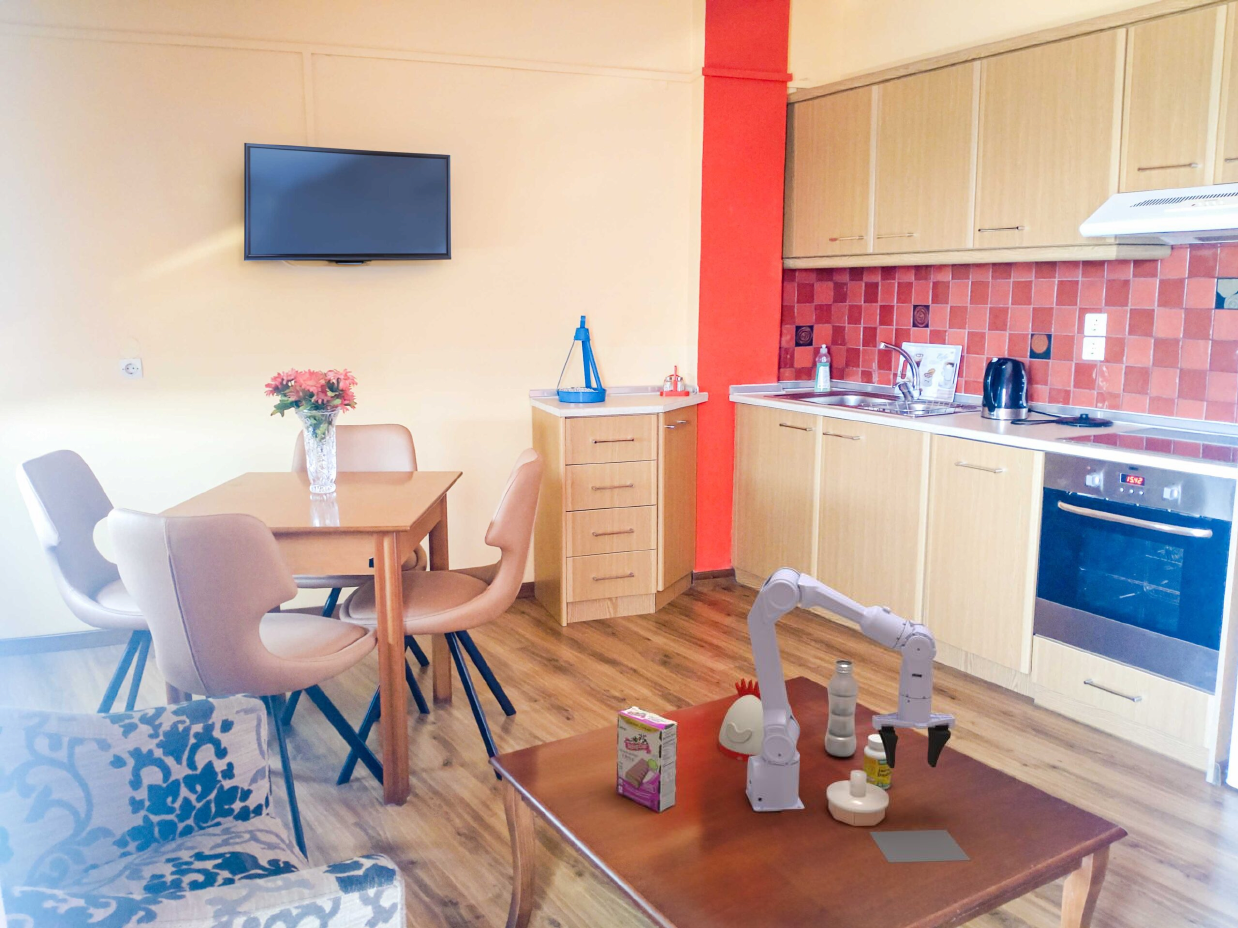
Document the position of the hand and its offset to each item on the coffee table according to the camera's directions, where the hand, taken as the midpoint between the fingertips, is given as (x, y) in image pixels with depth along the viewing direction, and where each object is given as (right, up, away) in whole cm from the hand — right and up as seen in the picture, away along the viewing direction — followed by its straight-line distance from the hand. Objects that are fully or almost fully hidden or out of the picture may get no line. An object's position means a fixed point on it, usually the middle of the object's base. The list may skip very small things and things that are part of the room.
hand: (911, 765), depth 175 cm
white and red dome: (-25, -6, +31) cm, 40 cm away
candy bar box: (-48, -9, +8) cm, 49 cm away
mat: (-1, -12, -9) cm, 15 cm away
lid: (-9, -7, +2) cm, 11 cm away
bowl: (-9, -10, +3) cm, 14 cm away
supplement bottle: (-2, -9, +15) cm, 18 cm away
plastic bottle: (-6, -7, +29) cm, 30 cm away
